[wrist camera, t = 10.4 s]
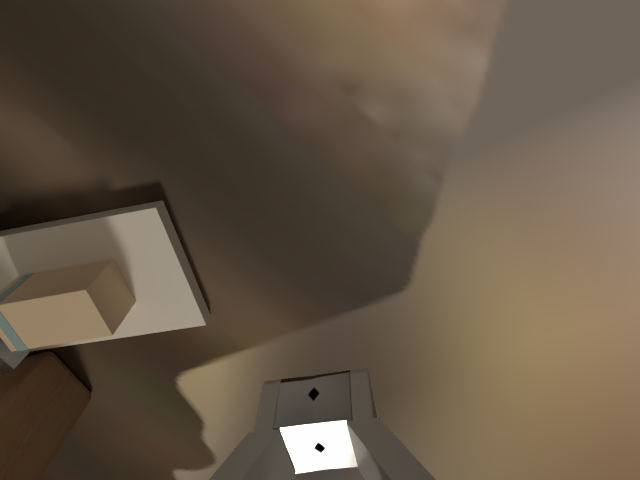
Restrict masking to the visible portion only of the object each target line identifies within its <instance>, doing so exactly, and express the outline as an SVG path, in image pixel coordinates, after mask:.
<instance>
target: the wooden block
mask: <svg viewBox="0 0 640 480" xmlns="http://www.w3.org/2000/svg"><path fill="white" fill-rule="evenodd" d="M90 400H91V393H90V391H89V390H88V389H87V388H86V387H85V386H84V385H83V384H82V383H81V382H80V381H79V380H78V379H77V378H76V376H75V375H74V374H73V373H72V372H71V371H70V370H69V369H68V368H67V367H66V366H65V365H64V364H63V363H62V361H61V360H60V359H59V358H58V357H57V356H56V355H55V354H54V353H52V352H50V351H45V352H42V353H39V354H36V355H33V356H30V357H27V358H24V359H23V360H22V361H21V362H20V363H19V364H18V365H17V367H16V368H15V369H14V370H11V371H9V372H7V373H4V374H2V375H0V480H39V479H40V478H41V476H42V475H43V473H44V472H45V470H46V468H47V467H48V465H49V464H50V462H51V461H52V459H53V457H54V456H55V454H56V453H57V451H58V450H59V448H60V447H61V445H62V443H63V442H64V440H65V439H66V437H67V436H68V434H69V432H70V431H71V429H72V428H73V426H74V425H75V423H76V421H77V420H78V418H79V417H80V415H81V414H82V412H83V411H84V409H85V407H86V406H87V404H88V403H89V401H90Z"/></svg>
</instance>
